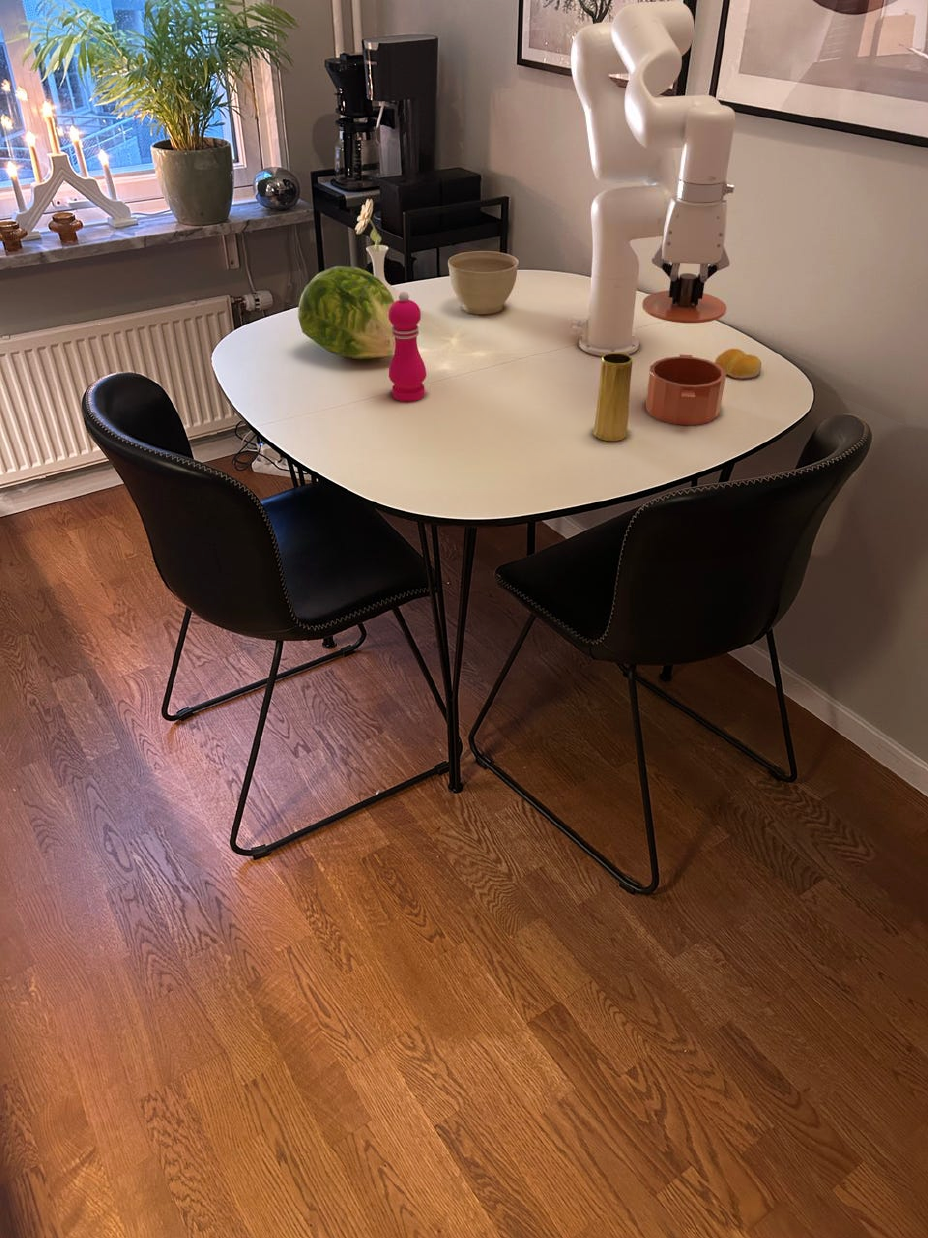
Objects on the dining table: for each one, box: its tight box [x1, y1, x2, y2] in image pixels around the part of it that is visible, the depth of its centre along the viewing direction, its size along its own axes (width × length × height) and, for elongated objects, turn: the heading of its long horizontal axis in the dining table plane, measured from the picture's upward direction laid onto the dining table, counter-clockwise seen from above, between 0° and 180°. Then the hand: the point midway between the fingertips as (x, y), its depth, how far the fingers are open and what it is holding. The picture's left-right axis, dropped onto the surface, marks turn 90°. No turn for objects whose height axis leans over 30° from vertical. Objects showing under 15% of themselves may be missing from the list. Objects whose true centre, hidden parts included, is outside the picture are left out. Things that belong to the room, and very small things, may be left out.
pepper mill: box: [388, 291, 427, 402], centre depth 175 cm, size 7×7×20 cm
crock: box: [645, 354, 727, 426], centre depth 173 cm, size 14×19×8 cm
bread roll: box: [714, 348, 762, 380], centre depth 187 cm, size 8×9×4 cm
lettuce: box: [297, 265, 395, 360], centre depth 194 cm, size 18×23×19 cm
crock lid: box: [641, 272, 727, 325], centre depth 163 cm, size 15×15×6 cm
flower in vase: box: [354, 198, 401, 302], centre depth 211 cm, size 13×11×25 cm
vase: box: [592, 352, 634, 442], centre depth 163 cm, size 6×6×14 cm
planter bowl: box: [447, 250, 520, 315], centre depth 216 cm, size 16×16×11 cm
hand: (684, 300), depth 164 cm, fingers closed on crock lid, 3 cm apart
